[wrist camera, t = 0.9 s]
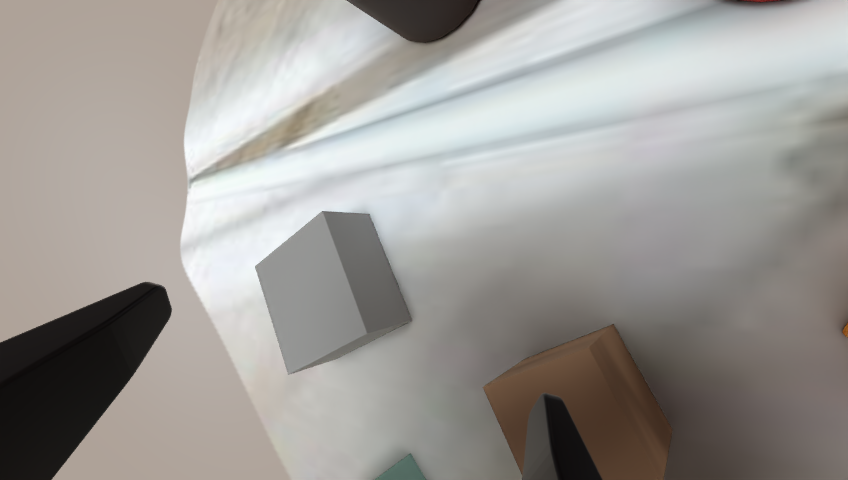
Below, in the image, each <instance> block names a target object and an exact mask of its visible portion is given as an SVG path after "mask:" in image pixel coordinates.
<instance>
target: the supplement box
mask: <svg viewBox="0 0 848 480" xmlns="http://www.w3.org/2000/svg"><path fill="white" fill-rule="evenodd" d="M843 334H844V335H845V336H846V337H848V323H847V325H846V326H845V328H844V330H843Z"/></svg>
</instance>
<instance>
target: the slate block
mask: <svg viewBox="0 0 848 480" xmlns="http://www.w3.org/2000/svg"><path fill="white" fill-rule="evenodd" d="M255 268H256V271H257V274H258V278H259V281H260V284H261V287H262V291H263V294H264V297H265V300H266V304H267V307H268V310H269V313H270V317H271V320H272V323H273V326H274V330H275V333H276V336H277V339H278V343H279V346H280V349H281V353H282V356H283V359H284V362H285V366H286V369H287V372H288V375H289V374H292V373H295V372H298V371H301V370H304V369H307V368H310V367H313V366H316V365H319V364H322V363H325V362H328V361H331V360H335V359H337V358H339V357H341V356H343V355H345V354H347V353H349V352H351V351H353V350H355V349H357V348H359V347H361V346H363V345H365V344H367V343H369V342H371V341H373V340H375V339H377V338H379V337H381V336H383V335H385V334H387V333H389V332H391V331H393V330H395V329H397V328H399V327H401V326H402V325H404V324H406V323H408V322H410V321H412V319H411V317H410V314H409V312H408V309H407V307H406V304H405V302H404V299H403V297H402V294H401V292H400V289H399V287H398V284H397V282H396V279H395V277H394V274H393V272H392V269H391V267H390V264H389V262H388V259H387V257H386V254H385V252H384V249H383V247H382V244H381V242H380V239H379V237H378V234H377V232H376V229H375V227H374V224H373V222H372V219H371V217H370V214H359V213H344V212H328V211H322V212H321V213H319V214H318V215H317V216H316V217H315V218H313V219H312V220H311V221H310V222H309V223H307V224H306V225H305V226H304V227H302V228H301V229H300V230H299V231H298V232H296V233H295V234H294V235H293V236H291V237H290V238H289V239H288V240H287V241H285V242H284V243H283V244H282V245H281V246H279V247H278V248H277V249H276V250H274V251H273V252H272V253H271V254H270V255H268V256H267V257H266V258H265V259H264V260H262V261H261V262H260V263H259V264H257V265H256V266H255Z"/></svg>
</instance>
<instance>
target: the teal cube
mask: <svg viewBox="0 0 848 480" xmlns="http://www.w3.org/2000/svg"><path fill="white" fill-rule="evenodd" d="M375 480H426V479H425V477H424V475H423V474H422V472H421V470H420V469H419V467H418V465H417V464H416V462H415V460H414V459H413V457H412V455H411V454H409V455H408V456H406V457H405V458H404V459H402V460H401V461H400V462H398V463H397V464H395V465H394V466H393V467H391V468H390V469H389V470H387V471H386V472H385V473H383V474H382V475H381V476H379V477H378V478H376V479H375Z"/></svg>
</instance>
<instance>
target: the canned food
mask: <svg viewBox="0 0 848 480" xmlns="http://www.w3.org/2000/svg"><path fill="white" fill-rule="evenodd" d="M742 1H753V2H767V1H779V0H742Z"/></svg>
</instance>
